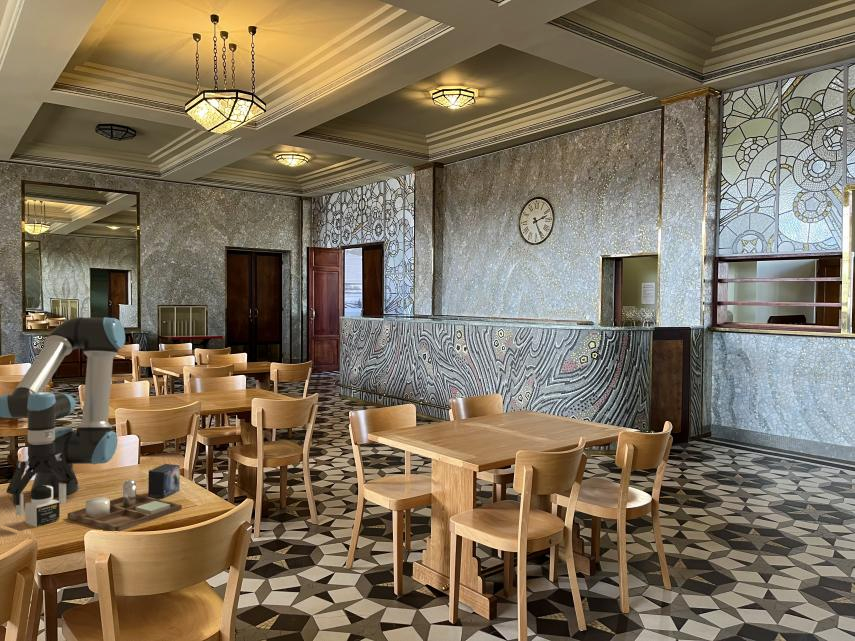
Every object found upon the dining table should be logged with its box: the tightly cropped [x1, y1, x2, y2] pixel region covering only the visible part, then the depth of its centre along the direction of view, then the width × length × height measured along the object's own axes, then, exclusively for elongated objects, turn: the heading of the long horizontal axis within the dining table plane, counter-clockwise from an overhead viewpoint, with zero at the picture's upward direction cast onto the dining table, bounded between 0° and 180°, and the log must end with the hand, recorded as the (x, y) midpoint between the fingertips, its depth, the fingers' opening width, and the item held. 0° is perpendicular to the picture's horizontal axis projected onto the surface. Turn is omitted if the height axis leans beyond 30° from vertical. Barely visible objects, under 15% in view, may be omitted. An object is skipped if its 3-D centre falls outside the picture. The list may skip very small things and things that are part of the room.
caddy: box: [67, 493, 183, 532], centre depth 217 cm, size 24×24×2 cm
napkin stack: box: [136, 501, 170, 515], centre depth 219 cm, size 8×8×2 cm
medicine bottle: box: [24, 485, 61, 528], centre depth 208 cm, size 7×7×12 cm
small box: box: [147, 463, 181, 500], centre depth 238 cm, size 11×6×10 cm, turn 168°
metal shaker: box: [122, 479, 137, 508], centre depth 224 cm, size 4×4×9 cm
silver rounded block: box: [85, 496, 110, 519], centre depth 214 cm, size 7×7×5 cm
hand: (41, 509), depth 208 cm, fingers open, 13 cm apart
